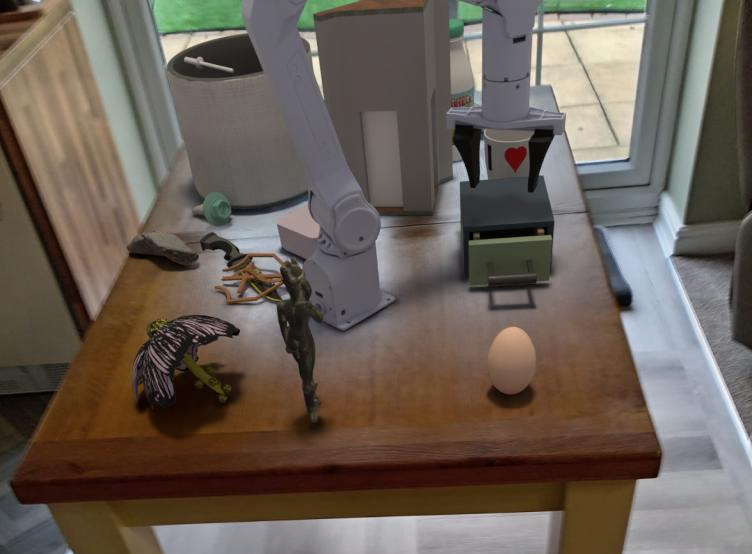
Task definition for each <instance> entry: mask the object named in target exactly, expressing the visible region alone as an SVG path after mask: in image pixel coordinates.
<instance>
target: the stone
mask: <svg viewBox="0 0 752 554" xmlns="http://www.w3.org/2000/svg"><path fill="white" fill-rule="evenodd" d="M126 250H127V251H128V252H130V253H132V254H138V255H139V254H140V255H153V256H160V257H166V259H168V260H171V262H174V263H177V264H179V265H184V266H188V265H191V266H192V264H193V263H195V262H197V261H198V260H199V258H200V255H199V254H198V253H197V252H196V251H195V250H193V249H192V248H191V247H189V245H188V242H187V241H184V240H182V239H181V238H180V237H179V236H177V235H175V234H173V233H168V232H161V231H160V230H158V229H154V230H153V231H151V232H142V233H140V234H138V235H137V236H135V237H134V238H132V240H131V241H130V242H129V243H128V244H127V245H126Z"/></svg>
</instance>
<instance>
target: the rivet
mask: <svg viewBox="0 0 752 554" xmlns="http://www.w3.org/2000/svg"><path fill="white" fill-rule="evenodd" d="M184 61H185V63H189V64H193V65H196V67H197V68H198V69H202V68H203V66H206V67H210V68H214V69H218V70H222V71H226V72H231V73H233V72H234V70H233V69H231V68H227V67H223V66H219V65H214V64H210V63H206V62H204V60H203V58H202V57H198V58H197V59H194V58H189V57H185V58H184Z"/></svg>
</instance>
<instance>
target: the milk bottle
mask: <svg viewBox="0 0 752 554" xmlns="http://www.w3.org/2000/svg"><path fill="white" fill-rule="evenodd" d="M449 29H450V73H451V108H463V107H474V103H475V84H474V83H475V81H474V73H473V70H472V67H471V64H470V62H469V59H468V56H467V54H466V52H465V51H466V50H465V48H464V43H463V39H464V38H465V35H464V33H465V23H464V21H463V20H461V19H458V18H457V19H456V18H449ZM454 134H455V129H452V161H453V162H459V161H463V160H462V157H461V155H460V153H459V152H458V150H457V148H456V146H455V145H454V143H453V135H454Z"/></svg>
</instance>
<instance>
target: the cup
mask: <svg viewBox="0 0 752 554" xmlns="http://www.w3.org/2000/svg"><path fill="white" fill-rule="evenodd" d="M533 134H534V132H532V131H514V130H496V129H485V130H484V131H483V142H484V162H485V163H484V164H485V167H486V176H487V179H501V178H514V177H527V176H529V146H528V142H529V140H530V138H531V137H532V135H533Z"/></svg>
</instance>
